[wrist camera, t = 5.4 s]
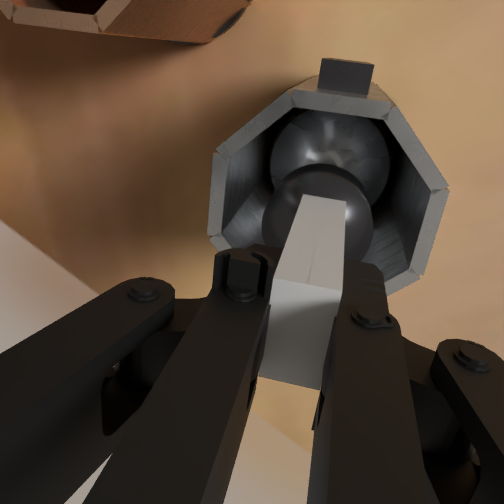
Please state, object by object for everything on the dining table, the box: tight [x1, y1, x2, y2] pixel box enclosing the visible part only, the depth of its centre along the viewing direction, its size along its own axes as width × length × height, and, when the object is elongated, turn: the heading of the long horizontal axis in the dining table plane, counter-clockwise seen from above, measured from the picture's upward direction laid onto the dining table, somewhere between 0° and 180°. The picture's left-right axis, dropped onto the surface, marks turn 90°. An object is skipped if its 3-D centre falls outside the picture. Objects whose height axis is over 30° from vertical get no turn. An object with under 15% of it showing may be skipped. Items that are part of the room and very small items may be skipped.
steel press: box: [207, 58, 449, 296], centre depth 24 cm, size 9×10×14 cm
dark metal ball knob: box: [261, 109, 390, 262], centre depth 21 cm, size 7×7×11 cm
